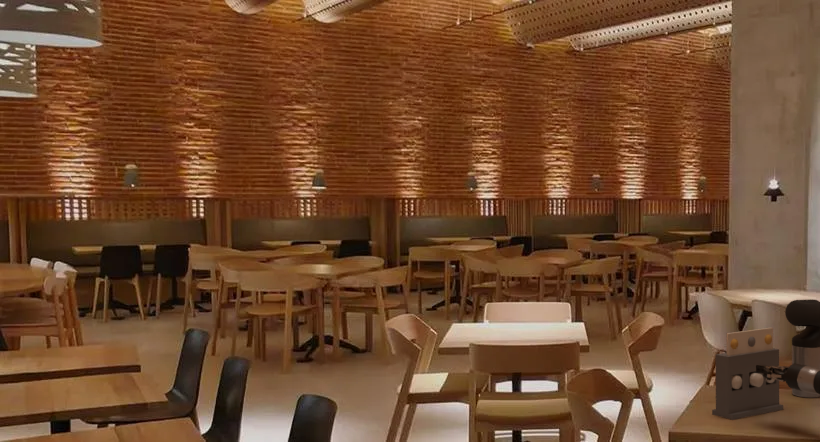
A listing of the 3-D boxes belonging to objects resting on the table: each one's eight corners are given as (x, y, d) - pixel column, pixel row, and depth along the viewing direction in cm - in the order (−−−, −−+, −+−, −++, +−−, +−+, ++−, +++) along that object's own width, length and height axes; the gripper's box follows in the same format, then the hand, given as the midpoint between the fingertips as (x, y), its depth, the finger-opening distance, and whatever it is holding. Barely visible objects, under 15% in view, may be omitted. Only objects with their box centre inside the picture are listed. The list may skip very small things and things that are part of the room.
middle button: (755, 384, 277) (755, 371, 276) (763, 386, 274) (763, 373, 274) (746, 386, 275) (746, 373, 274) (754, 387, 272) (754, 374, 272)
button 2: (767, 380, 282) (767, 367, 282) (775, 382, 279) (775, 369, 279) (759, 382, 280) (759, 369, 280) (767, 383, 277) (767, 370, 277)
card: (771, 348, 281) (770, 327, 281) (773, 349, 280) (773, 328, 280) (726, 355, 271) (726, 333, 271) (729, 356, 270) (729, 333, 270)
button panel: (762, 404, 286) (762, 346, 286) (783, 409, 279) (783, 349, 279) (712, 414, 275) (711, 353, 274) (732, 419, 268) (732, 357, 267)
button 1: (734, 386, 274) (734, 373, 274) (742, 388, 272) (742, 375, 271) (725, 388, 272) (725, 374, 272) (732, 389, 270) (732, 376, 269)
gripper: (821, 363, 253) (771, 353, 268) (792, 368, 247) (742, 358, 262) (821, 388, 253) (771, 377, 269) (791, 394, 247) (742, 382, 262)
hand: (757, 368), depth 265 cm, fingers closed
